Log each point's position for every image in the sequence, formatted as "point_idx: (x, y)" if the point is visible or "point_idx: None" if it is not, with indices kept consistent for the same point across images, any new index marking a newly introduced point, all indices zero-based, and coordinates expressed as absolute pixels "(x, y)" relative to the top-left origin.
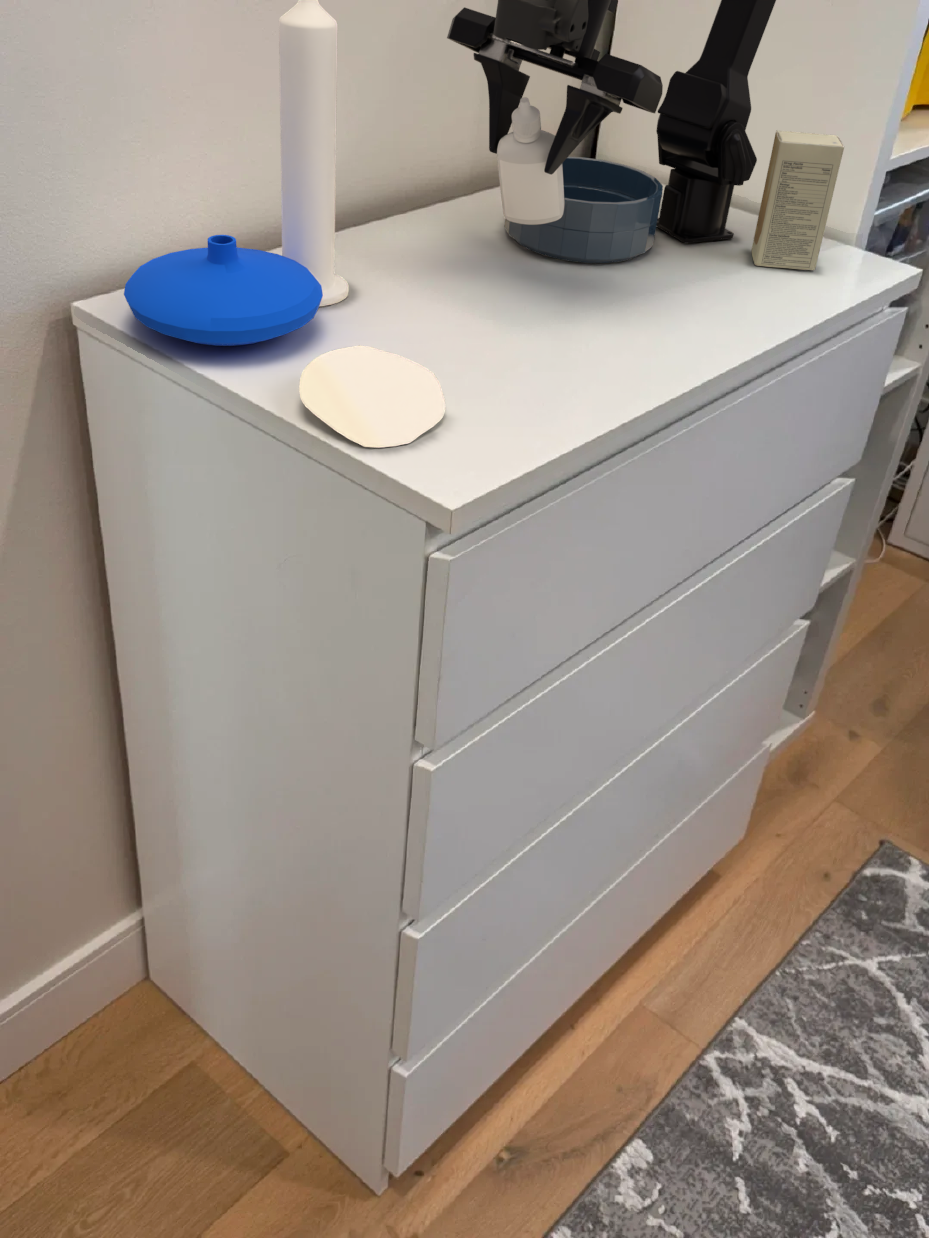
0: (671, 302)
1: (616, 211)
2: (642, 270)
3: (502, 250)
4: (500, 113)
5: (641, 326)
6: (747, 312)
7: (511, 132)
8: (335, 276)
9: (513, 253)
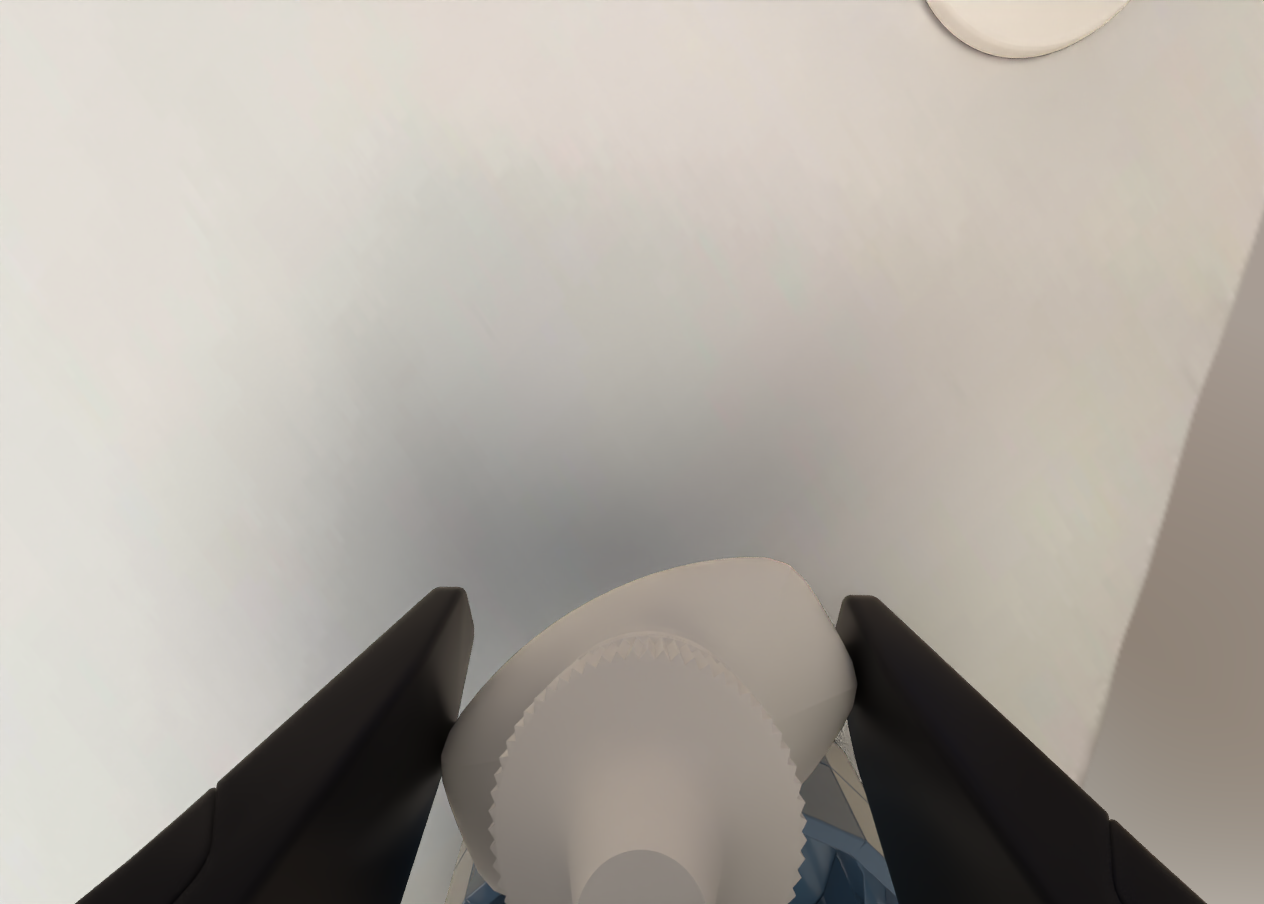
0: (246, 657)
1: (470, 876)
2: None
3: None
4: (973, 820)
5: (193, 459)
6: (79, 739)
7: (807, 754)
8: (1012, 21)
9: None
